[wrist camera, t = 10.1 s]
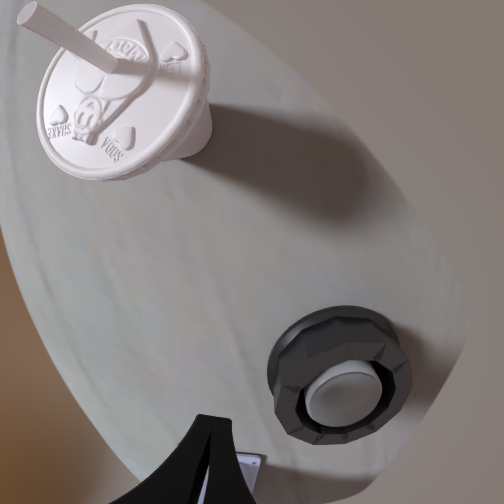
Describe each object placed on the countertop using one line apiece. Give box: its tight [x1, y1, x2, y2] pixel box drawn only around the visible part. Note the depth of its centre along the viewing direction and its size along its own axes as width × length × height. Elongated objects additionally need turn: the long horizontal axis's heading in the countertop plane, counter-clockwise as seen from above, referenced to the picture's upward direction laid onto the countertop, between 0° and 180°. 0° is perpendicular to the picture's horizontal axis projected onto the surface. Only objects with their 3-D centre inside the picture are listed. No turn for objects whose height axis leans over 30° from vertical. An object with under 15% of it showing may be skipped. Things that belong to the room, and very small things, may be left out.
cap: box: [303, 360, 382, 427], centre depth 18 cm, size 5×5×4 cm
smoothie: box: [17, 2, 213, 182], centre depth 10 cm, size 6×6×14 cm
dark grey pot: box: [267, 306, 413, 445], centre depth 18 cm, size 10×10×4 cm
